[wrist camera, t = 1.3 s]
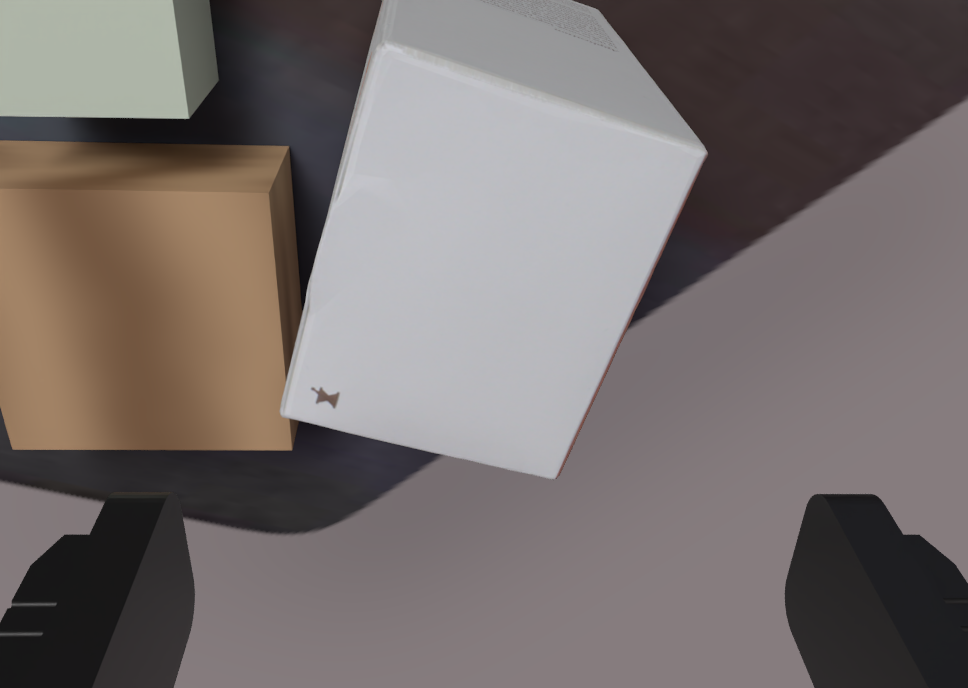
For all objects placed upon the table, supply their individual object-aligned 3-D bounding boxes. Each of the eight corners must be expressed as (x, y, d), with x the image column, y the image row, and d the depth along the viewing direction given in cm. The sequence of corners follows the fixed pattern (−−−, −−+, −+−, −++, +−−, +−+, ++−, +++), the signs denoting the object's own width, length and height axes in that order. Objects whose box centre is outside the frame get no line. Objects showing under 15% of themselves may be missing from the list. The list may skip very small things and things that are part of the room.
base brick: (288, 146, 29) (268, 192, 26) (307, 383, 34) (292, 450, 30) (-2, 140, 29) (-62, 187, 25) (56, 382, 33) (12, 449, 30)
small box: (516, 242, 31) (557, 491, 20) (333, 190, 30) (268, 424, 19) (606, 4, 27) (718, 149, 16) (399, -67, 26) (368, 36, 15)
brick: (198, -102, 26) (160, -85, 22) (219, 79, 28) (189, 118, 25) (14, -107, 26) (-52, -91, 22) (52, 76, 28) (-2, 116, 25)
